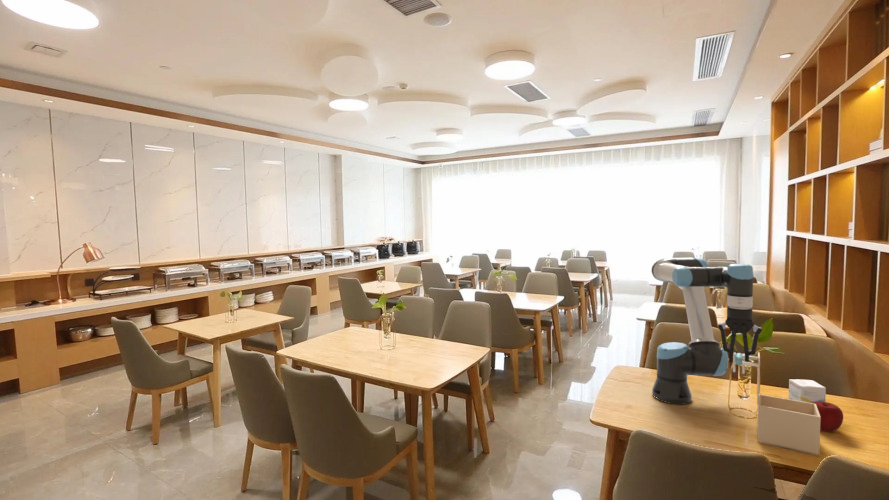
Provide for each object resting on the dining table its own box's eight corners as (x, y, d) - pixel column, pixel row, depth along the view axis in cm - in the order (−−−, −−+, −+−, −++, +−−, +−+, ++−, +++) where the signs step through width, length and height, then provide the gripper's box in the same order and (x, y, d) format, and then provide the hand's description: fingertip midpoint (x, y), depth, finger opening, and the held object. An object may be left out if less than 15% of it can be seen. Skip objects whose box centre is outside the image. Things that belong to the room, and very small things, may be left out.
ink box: (825, 417, 164) (826, 387, 163) (800, 415, 166) (801, 386, 165) (811, 407, 172) (812, 379, 172) (787, 406, 174) (788, 378, 173)
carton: (757, 442, 147) (758, 405, 146) (757, 428, 156) (758, 393, 156) (819, 456, 137) (820, 417, 137) (814, 440, 147) (815, 403, 146)
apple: (831, 424, 158) (832, 398, 157) (849, 437, 149) (850, 409, 148) (802, 422, 160) (802, 396, 160) (818, 434, 151) (819, 407, 150)
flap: (758, 404, 146) (734, 399, 150) (758, 393, 155) (735, 389, 160) (760, 361, 145) (735, 357, 149) (759, 352, 154) (736, 349, 159)
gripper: (714, 307, 154) (713, 371, 155) (766, 311, 145) (765, 378, 146) (715, 303, 160) (714, 365, 161) (765, 307, 151) (764, 372, 152)
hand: (738, 371), depth 154 cm, fingers closed on flap, 2 cm apart
